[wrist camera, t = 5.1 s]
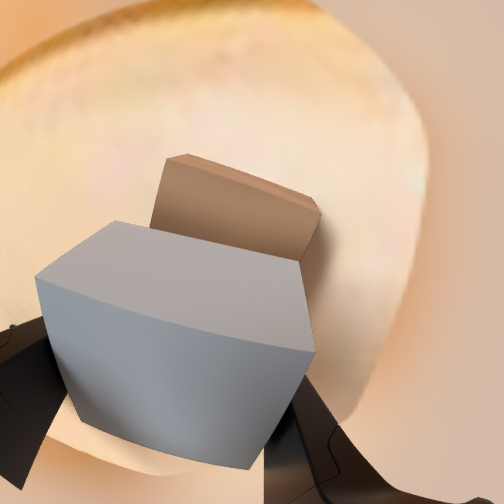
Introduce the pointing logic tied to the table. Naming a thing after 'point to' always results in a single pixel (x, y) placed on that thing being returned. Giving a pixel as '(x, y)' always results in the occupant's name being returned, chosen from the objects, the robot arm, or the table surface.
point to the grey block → (178, 340)
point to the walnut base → (233, 208)
